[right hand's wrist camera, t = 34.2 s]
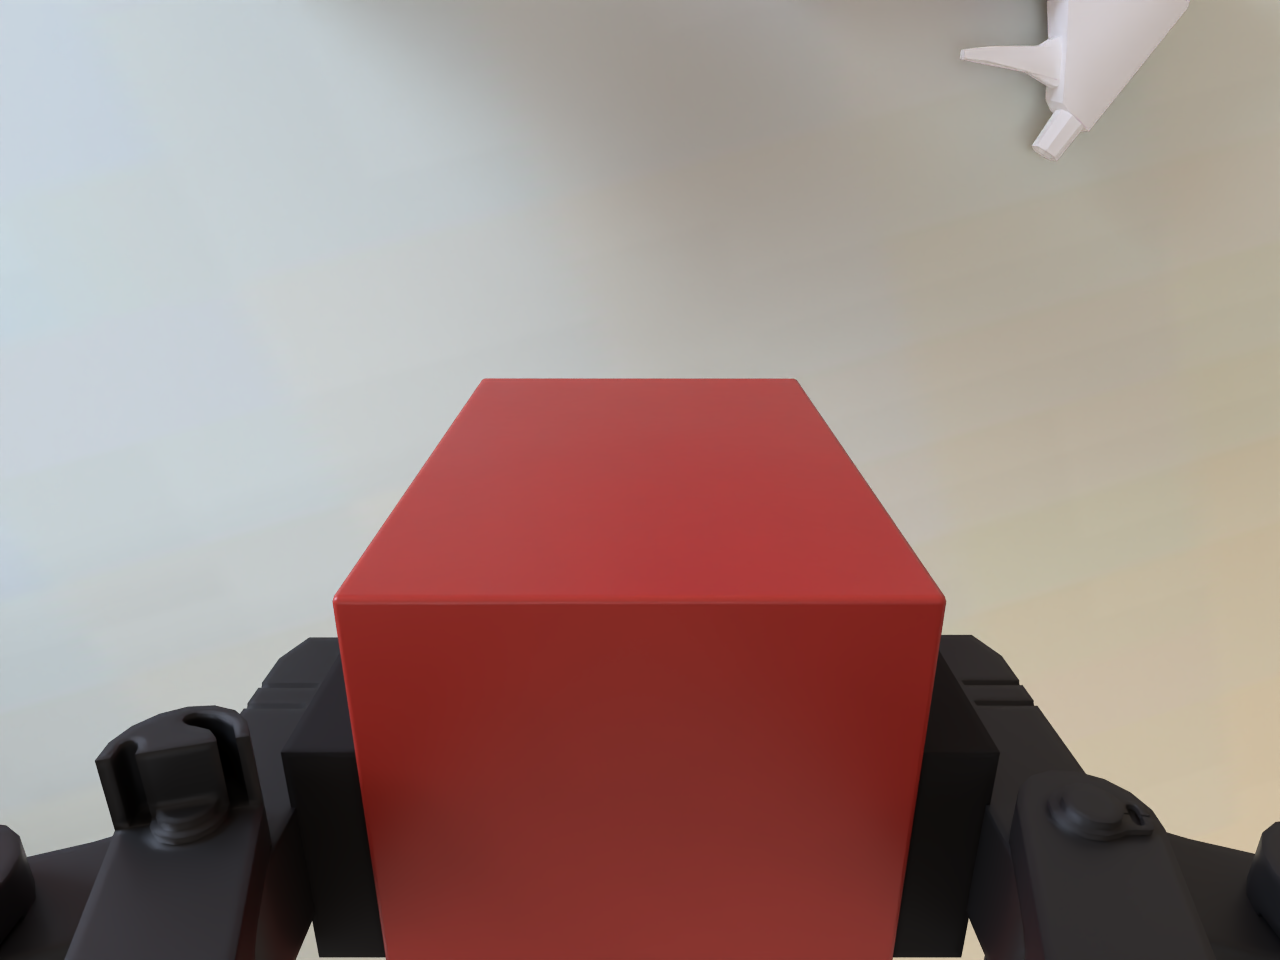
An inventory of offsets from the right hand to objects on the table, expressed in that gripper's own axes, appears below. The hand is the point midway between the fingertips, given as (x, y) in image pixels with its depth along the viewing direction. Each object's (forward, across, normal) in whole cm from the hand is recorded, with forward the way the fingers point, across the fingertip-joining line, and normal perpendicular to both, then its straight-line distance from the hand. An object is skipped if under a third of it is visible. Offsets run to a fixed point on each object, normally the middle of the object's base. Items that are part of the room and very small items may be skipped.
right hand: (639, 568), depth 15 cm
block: (+1, 0, 0) cm, 1 cm away
